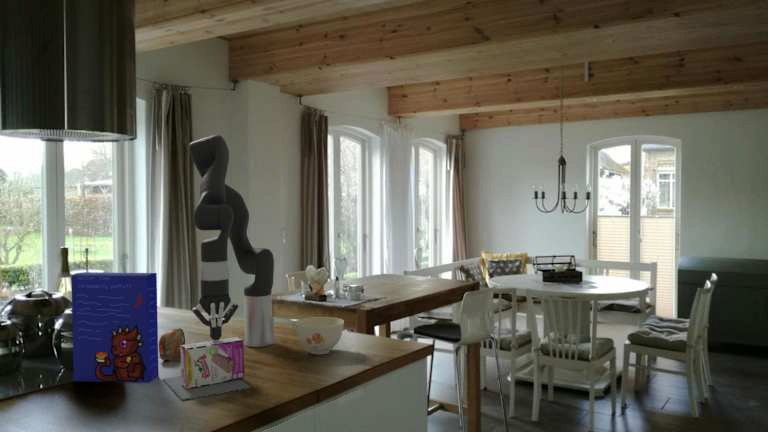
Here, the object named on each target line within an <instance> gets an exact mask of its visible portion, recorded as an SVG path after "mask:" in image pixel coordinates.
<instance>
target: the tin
mask: <svg viewBox="0 0 768 432" xmlns="http://www.w3.org/2000/svg"><path fill="white" fill-rule="evenodd" d="M185 344H186V336H185V331H184V330H183V329H182V328H173V329H170V330H168V331H166V333H164V334H162V335H161V336H160V338H159V339H158V354H159V358H160V360H162V361H173V360H174V359H176V358H178V357H180V356H181V354H180V346H181V345H185Z"/></svg>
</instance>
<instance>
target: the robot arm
mask: <svg viewBox="0 0 768 432" xmlns="http://www.w3.org/2000/svg"><path fill="white" fill-rule="evenodd" d="M188 152H189V156H190V158H191V160H192V162H193V164H194V166H195V168H196V170H197V172H198V173H199V176H200V177H201V182H200V185H199V201H198V203H197V204H196V207H195V209H194V212H193V217H192V218H193V225H194V226H195V228H197V229H198V230H200V231H203V232H204V231H220V232H219V234H218V235H216V236H215V237H212V238H207V239H204V240H202V241H201V244H200V269H199V270H200V272H199V274H200V281H199V282H200V298H199V301H198V304H197V305H196V306H194V307H192V308H191V312H192V314H193V315H195V317H196V318H197V319H198V320H199V321H200V322H201V323H202V324H203V325H204V326H205V327H209V337H210V339H212V340H214V341H215V340H220V338H221V339H222V335H223V334H222V333H223V332H222V327H223V325H225V324H228V323H229V321H230V320H231V318H232V317H233V316H234V314H235V313H236V312H237V310H238V308H239V304H236V303H235V302H233V301H232V300H231V297H230V278H229V277H230V271H229V262H228V257H229V256H228V245H229V241H230V243H231V247H232V249H233V252H234V255H235V256H234V257H235V260H236V262H237V264H238V268H240V271H242V272H243V273H244V274H247V275H253V276H254V281H253V282H252V283H251V284H248V285H245V286H244V289H243V295H244V296H243V301H244V302H243V305H244V306H243V309H244V311H243V313H244V314H243V315H244V318H243V319H244V320H243V321H244V346H245V347H249V348H261V347H262V348H263V347H267V346H270V345H275V317H274V315H273V313H272V309H273V308H272V306H273V305H272V290H273V286H274V274H275V273H274V271H275V259H274V258H275V257H274V254H273V252H272V251H271V250H270V249H269V248H265V247H253V245H252V244H251V242H250V239H249V237H248V234H247V231H248V228H249V227H248V226H249V220H250V213H249V210H248V207H247V204H246V202H245V200H244V197H243V196H242V194H240V193H239V191H238V190H236V189H235V188H233V187H231V186H229V185H228V184H227V183H226V177H227V172H228V168H229V163H230V151H229V147H228V145H227V143H226V140H225V139H224V138H223V136H222V135H220V134H214V135H210V136H207V137H203V138H201V139H200V138H199V139H197V140H195V141H191V142H190V143H189V145H188ZM202 309H203V310H204V312H205V313H206V314H207V318H208V319H207V318H206V317H205V316H204V315H203V314H202V313H203V310H202ZM225 311H226V312H225ZM224 312H225V313H224ZM212 340H211V341H212Z"/></svg>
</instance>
